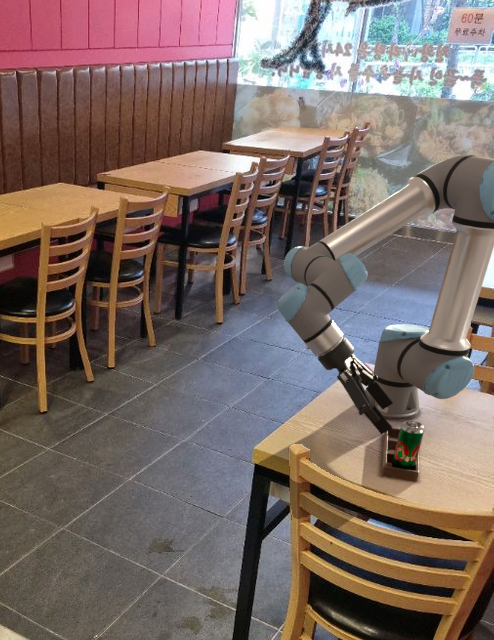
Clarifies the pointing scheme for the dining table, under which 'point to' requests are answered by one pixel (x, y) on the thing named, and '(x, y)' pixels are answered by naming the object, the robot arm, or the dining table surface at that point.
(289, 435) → the dining table surface
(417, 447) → the soda can
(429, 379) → the robot arm
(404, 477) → the caddy
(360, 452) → the dining table surface
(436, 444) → the dining table surface
